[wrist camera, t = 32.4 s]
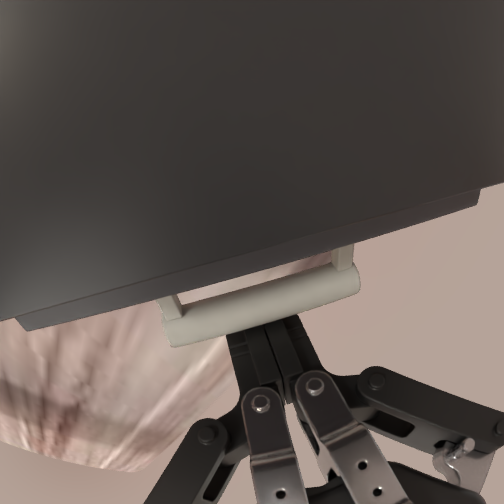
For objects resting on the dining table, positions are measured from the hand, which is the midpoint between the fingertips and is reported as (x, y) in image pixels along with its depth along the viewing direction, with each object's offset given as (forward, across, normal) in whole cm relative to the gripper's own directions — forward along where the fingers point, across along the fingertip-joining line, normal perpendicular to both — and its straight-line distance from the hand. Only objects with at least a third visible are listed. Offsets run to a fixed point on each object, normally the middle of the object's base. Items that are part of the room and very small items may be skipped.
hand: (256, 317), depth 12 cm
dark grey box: (+5, 0, -15) cm, 15 cm away
